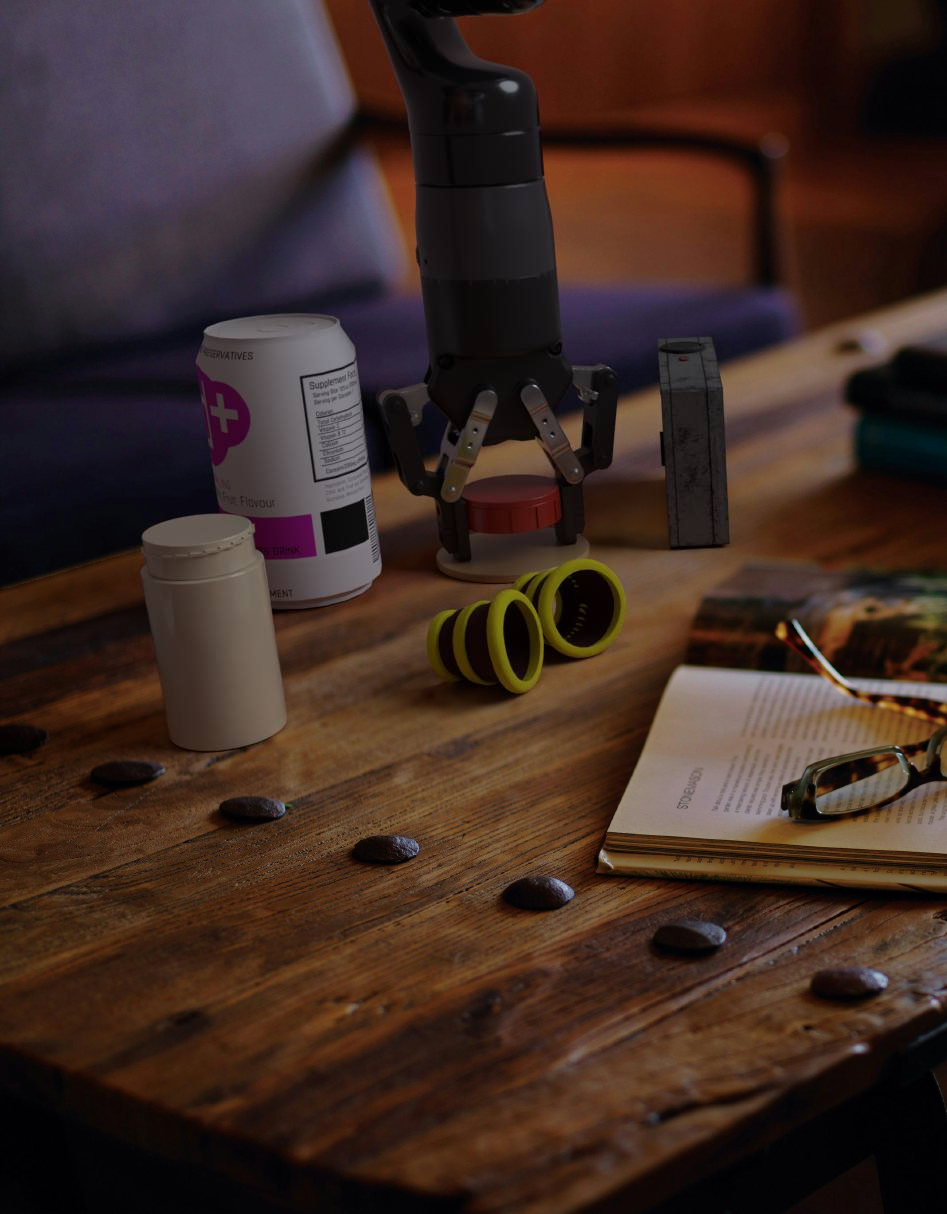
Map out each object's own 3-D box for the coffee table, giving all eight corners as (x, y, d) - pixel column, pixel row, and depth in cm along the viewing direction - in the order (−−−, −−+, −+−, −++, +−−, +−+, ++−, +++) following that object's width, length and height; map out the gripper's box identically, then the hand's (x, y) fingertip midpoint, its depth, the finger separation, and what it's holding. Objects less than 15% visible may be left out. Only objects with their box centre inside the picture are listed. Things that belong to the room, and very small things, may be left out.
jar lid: (550, 534, 93) (547, 502, 93) (450, 534, 94) (446, 503, 93) (569, 503, 99) (567, 473, 98) (474, 504, 99) (471, 474, 98)
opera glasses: (561, 640, 86) (540, 550, 85) (638, 639, 83) (616, 546, 82) (432, 706, 79) (406, 608, 77) (511, 708, 76) (485, 606, 75)
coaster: (428, 587, 92) (427, 578, 92) (445, 537, 101) (445, 530, 101) (587, 578, 93) (587, 570, 93) (592, 530, 101) (591, 522, 101)
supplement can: (252, 624, 87) (209, 347, 82) (221, 580, 94) (179, 322, 89) (400, 595, 91) (368, 328, 86) (360, 555, 98) (328, 306, 93)
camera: (662, 475, 113) (654, 331, 109) (719, 472, 113) (712, 329, 110) (666, 550, 97) (656, 386, 94) (732, 546, 98) (725, 383, 94)
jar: (167, 759, 72) (131, 554, 69) (170, 713, 77) (136, 519, 73) (290, 740, 74) (260, 539, 70) (285, 697, 78) (257, 506, 75)
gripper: (371, 285, 85) (408, 589, 91) (632, 260, 90) (650, 548, 96) (344, 266, 91) (380, 551, 97) (590, 244, 97) (609, 514, 103)
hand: (515, 548), depth 97 cm, fingers closed on jar lid, 5 cm apart
